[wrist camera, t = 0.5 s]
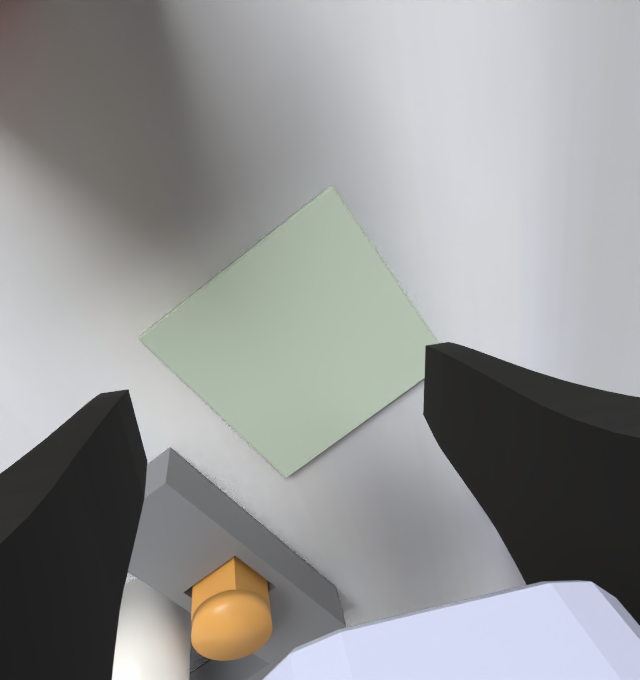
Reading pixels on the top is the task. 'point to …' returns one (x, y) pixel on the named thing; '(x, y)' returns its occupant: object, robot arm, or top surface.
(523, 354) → the top surface
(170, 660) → the cylinder
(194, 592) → the plunger
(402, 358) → the mat
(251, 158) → the top surface
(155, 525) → the dock
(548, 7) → the top surface
